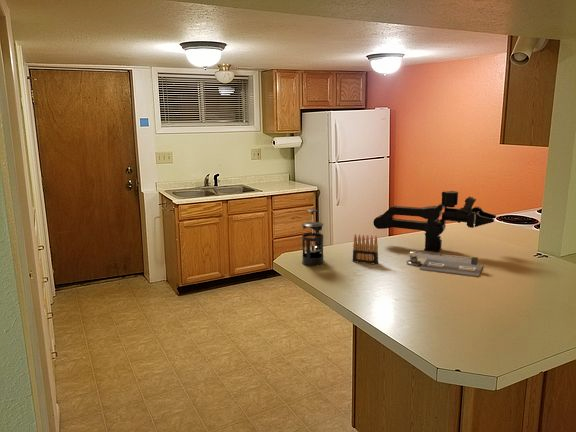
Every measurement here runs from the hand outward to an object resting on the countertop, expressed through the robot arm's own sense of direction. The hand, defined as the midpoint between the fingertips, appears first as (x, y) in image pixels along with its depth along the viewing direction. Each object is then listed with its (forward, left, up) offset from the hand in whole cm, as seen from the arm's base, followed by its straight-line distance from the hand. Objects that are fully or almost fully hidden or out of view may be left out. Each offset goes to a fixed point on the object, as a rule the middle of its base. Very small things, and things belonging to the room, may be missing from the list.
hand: (495, 218), depth 200 cm
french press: (-67, -39, -17) cm, 80 cm away
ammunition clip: (-47, -30, -17) cm, 58 cm away
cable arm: (-17, -24, -14) cm, 32 cm away
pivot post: (-28, -24, -17) cm, 41 cm away
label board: (-13, -24, -17) cm, 32 cm away
